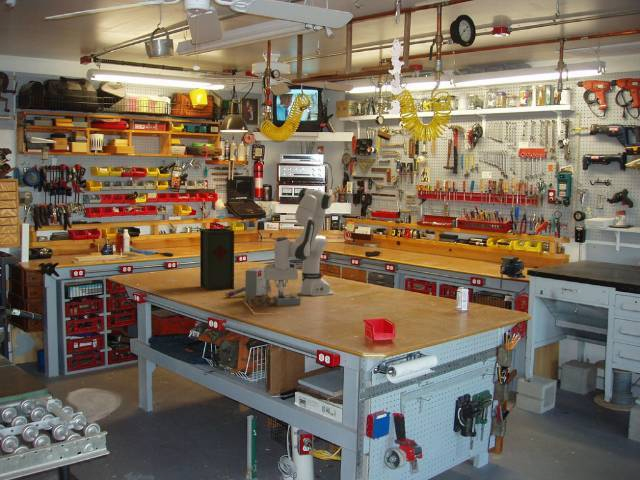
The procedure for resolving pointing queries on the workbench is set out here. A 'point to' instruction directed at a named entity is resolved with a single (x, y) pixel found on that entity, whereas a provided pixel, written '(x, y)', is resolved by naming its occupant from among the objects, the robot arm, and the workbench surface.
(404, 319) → the workbench surface
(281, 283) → the frosted round peg
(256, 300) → the rack
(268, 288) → the hammer
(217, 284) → the first aid box
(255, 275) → the hard drive box
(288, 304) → the socket block
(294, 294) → the tan block
